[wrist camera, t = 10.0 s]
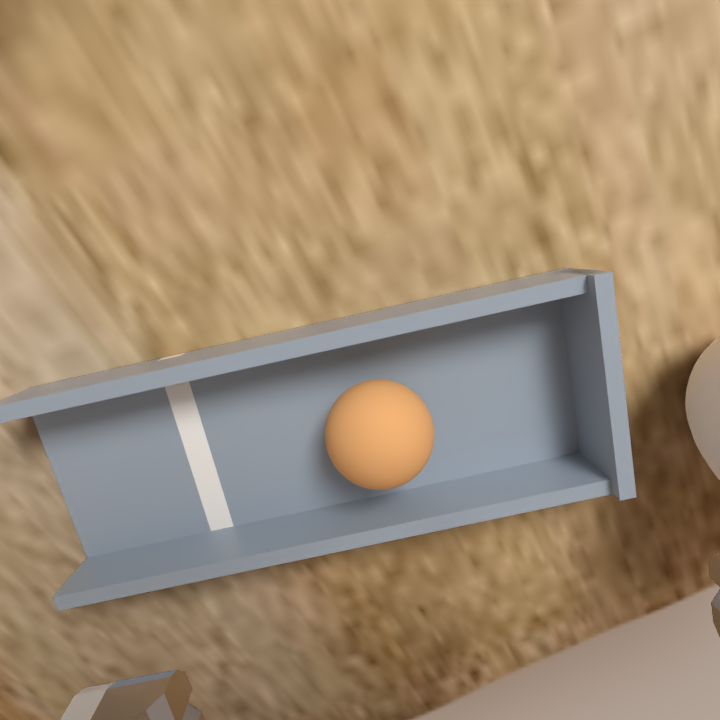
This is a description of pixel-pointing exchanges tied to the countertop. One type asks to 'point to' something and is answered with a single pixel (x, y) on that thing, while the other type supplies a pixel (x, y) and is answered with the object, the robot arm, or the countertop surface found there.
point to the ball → (379, 434)
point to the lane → (307, 434)
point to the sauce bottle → (706, 405)
